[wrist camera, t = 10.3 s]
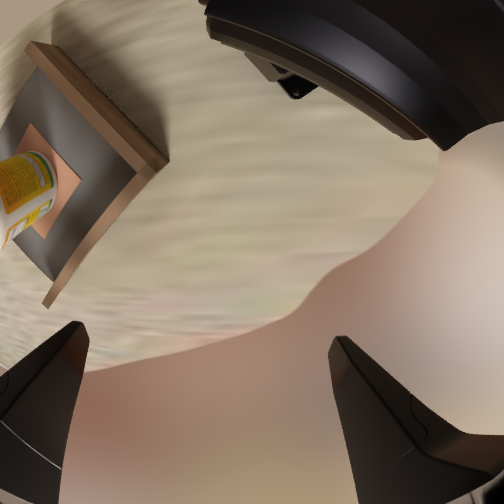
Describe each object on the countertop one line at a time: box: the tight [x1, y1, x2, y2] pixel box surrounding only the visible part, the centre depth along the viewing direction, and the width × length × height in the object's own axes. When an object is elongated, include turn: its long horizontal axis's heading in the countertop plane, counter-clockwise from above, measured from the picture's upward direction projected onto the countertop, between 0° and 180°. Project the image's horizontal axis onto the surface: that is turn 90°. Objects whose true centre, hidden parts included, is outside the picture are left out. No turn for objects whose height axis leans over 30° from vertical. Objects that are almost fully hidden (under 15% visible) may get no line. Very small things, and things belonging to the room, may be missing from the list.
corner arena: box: [0, 41, 170, 309], centre depth 15 cm, size 16×14×4 cm
